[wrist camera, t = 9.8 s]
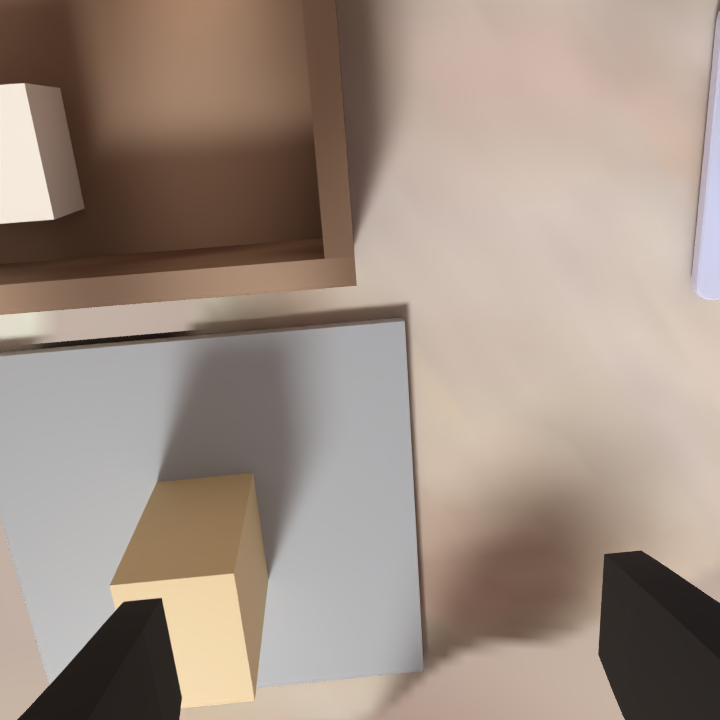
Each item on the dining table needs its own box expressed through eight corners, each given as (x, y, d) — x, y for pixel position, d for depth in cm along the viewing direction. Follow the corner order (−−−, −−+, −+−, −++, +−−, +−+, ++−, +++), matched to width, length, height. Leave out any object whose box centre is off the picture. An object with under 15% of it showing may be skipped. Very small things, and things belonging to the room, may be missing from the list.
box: (310, -264, 15) (308, -369, 12) (350, 258, 19) (356, 285, 16) (-227, -233, 15) (-380, -332, 12) (-74, 291, 19) (-157, 327, 16)
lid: (401, 312, 21) (430, 382, 15) (419, 650, 25) (449, 804, 19) (-29, 349, 20) (-163, 435, 15) (65, 686, 25) (-10, 853, 19)
